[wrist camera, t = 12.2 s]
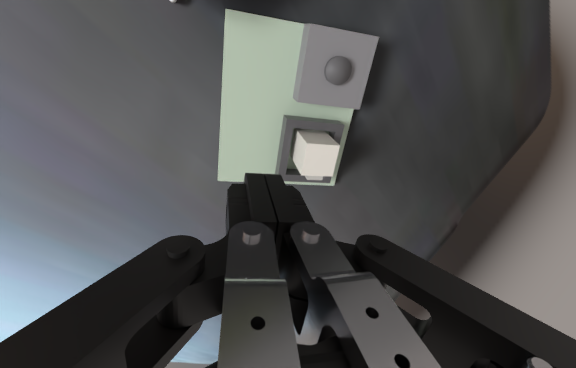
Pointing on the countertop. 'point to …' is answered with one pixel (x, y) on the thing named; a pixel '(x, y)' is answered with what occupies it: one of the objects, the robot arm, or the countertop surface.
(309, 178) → the plug
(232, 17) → the circuit board
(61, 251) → the countertop surface
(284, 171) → the header socket
